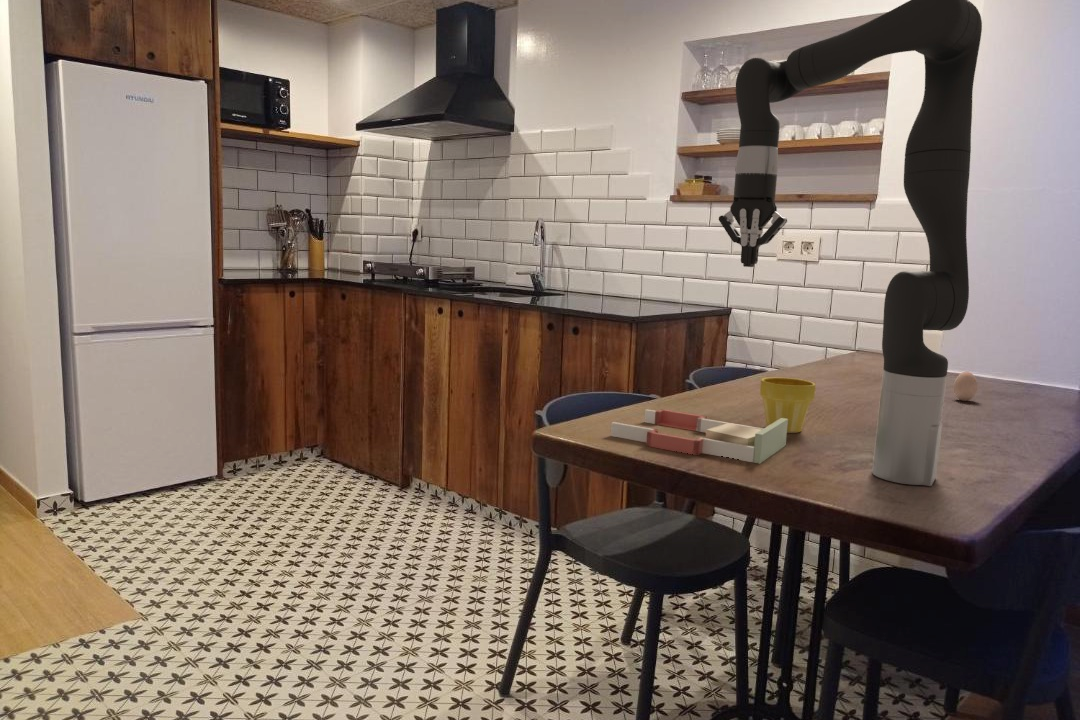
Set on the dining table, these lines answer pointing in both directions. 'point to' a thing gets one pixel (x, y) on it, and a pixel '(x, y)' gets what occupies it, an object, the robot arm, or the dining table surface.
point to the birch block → (733, 434)
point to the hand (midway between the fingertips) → (748, 266)
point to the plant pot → (787, 400)
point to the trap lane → (764, 446)
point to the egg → (965, 386)
